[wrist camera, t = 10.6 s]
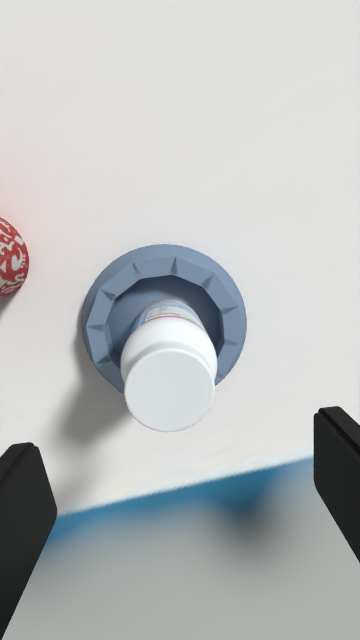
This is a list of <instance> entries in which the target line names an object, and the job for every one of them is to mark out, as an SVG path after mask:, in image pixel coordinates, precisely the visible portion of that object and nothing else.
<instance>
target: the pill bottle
mask: <svg viewBox="0 0 360 640" xmlns="http://www.w3.org/2000/svg"><path fill="white" fill-rule="evenodd" d="M216 373H217V357H216V352H215V349H214V346H213V344H212V342H211V340H210V338H209V336H208V334H207V332H206V330H205V328H204V327H203V325H202V323H201V321H200V319H199V317H198V315H197V314H196V313H195V311H194V310H193V309H192V308H191V307H189V306H188V305H187V304H185V303H183V302H181V301H179V300H175V299H161V300H157V301H155V302H153V303H151V304H149V305H148V306H146V307H145V308H144V309H143V310H142V311H141V313H140V314H139V316H138V318H137V320H136V322H135V324H134V326H133V328H132V330H131V333H130V335H129V337H128V339H127V341H126V343H125V346H124V348H123V352H122V356H121V375H122V378H123V381H124V384H125V385H124V397H125V401H126V405H127V407H128V409H129V411H130V412H131V414H132V415H133V417H134V418H135V419H136V420H137V421H139V422H140V423H141V424H143V425H144V426H146V427H148V428H150V429H153V430H157V431H162V432H175V431H180V430H184V429H186V428H189V427H191V426H193V425H195V424H196V423H197V422H199V421H200V420H201V419H202V418H203V417H204V416H205V415H206V413H207V412H208V411H209V409H210V407H211V405H212V403H213V399H214V394H215V383H214V380H215V377H216Z"/></svg>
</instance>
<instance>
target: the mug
mask: <svg viewBox="0 0 360 640" xmlns="http://www.w3.org/2000/svg"><path fill="white" fill-rule="evenodd" d="M28 268H29V256H28V252H27V248H26V246H25V243H24V241H23V239H22V237H21V236H20V235H19V233H18V232H17V231H16V229H15V228H14V227H13V226H11V225H10V224H9V223H8V222H7V221H5V220H4V219H2V218H0V298H1V297H4V296H6V295H9V294H11V293H13V292H14V291H15V290H17V289H18V288H19V287H20V286H21V284H22V283H23V282H24V280H25V278H26V276H27V273H28Z"/></svg>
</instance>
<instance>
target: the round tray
mask: <svg viewBox="0 0 360 640" xmlns="http://www.w3.org/2000/svg"><path fill="white" fill-rule="evenodd" d="M161 299H175V300H179V301H181V302H183V303H185V304H187V305H188V306H189V307H191V308H192V309H193V310H194V311H195V313H196V314H197V315H198V317H199V319H200V321H201V323H202V325H203V327H204V328H205V330H206V332H207V334H208V336H209V338H210V340H211V342H212V344H213V346H214V349H215V352H216V357H217V373H216V377H215V380H214V383H215V386H216V385H217V384H218V383H219V382H221V381H222V380H223V379H224V378H225V377H226V376H227V375H228V373H229V372H230V371H231V369H232V368H233V367H234V365H235V363H236V362H237V360H238V358H239V356H240V354H241V351H242V349H243V345H244V341H245V337H246V329H247V318H246V311H245V306H244V302H243V299H242V296H241V294H240V292H239V289H238V287H237V286H236V284H235V282H234V281H233V279H232V278H231V277H230V276H229V274H228V273H227V272H226V271H225V270H224V269H223V268H222V267H221V266H220V265H219V264H218V263H217V262H215V261H214V260H212V259H211V258H210V257H208V256H206V255H204V254H202V253H200V252H198V251H196V250H193V249H190V248H187V247H182V246H178V245H167V244H163V245H151V246H146V247H141V248H138V249H136V250H133V251H130V252H128V253H126V254H124V255H122V256H120V257H119V258H118V259H116V260H115V261H113V262H112V263H111V264H110V265H108V266H107V267H106V268H105V269H104V270H103V271H102V272H101V274H100V275H99V276H98V277H97V279H96V280H95V282H94V283H93V285H92V287H91V288H90V291H89V293H88V295H87V298H86V301H85V305H84V308H83V316H82V332H83V338H84V343H85V346H86V349H87V352H88V354H89V356H90V358H91V360H92V362H93V364H94V365H95V367H96V368H97V370H98V371H99V372H100V373H101V375H102V376H103V377H104V378H105V379H106V380H107V381H108V382H109V383H111V384H112V385H113V386H115V387H116V388H117V389H118V390H119V391H120V392H121V393H124V385H125V384H124V381H123V378H122V375H121V356H122V352H123V348H124V346H125V343H126V341H127V339H128V337H129V335H130V333H131V330H132V328H133V326H134V324H135V322H136V320H137V318H138V316H139V314H140V313H141V311H142V310H143V309H144V308H145V307H146V306H148V305H149V304H151V303H153V302H155V301H157V300H161Z"/></svg>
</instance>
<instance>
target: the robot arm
mask: <svg viewBox="0 0 360 640" xmlns="http://www.w3.org/2000/svg"><path fill="white" fill-rule="evenodd" d="M314 483H315V486H316V489H317V491H318V493H319V495H320V496H321V498H322V499H323V501H324V503H325V505H326V507H327V508H328V510H329V512H330V513H331V515H332V517H333V518H334V520H335V522H336V523H337V525H338V526H339V528H340V530H341V531H342V533H343V535H344V537H345V539H346V540H347V542H348V544H349V545H350V547H351V549H352V550H353V552H354V554H355V555H356V557H357V559H358V560H359V562H360V425H359V424H358V423H357V422H355V421H354V420H353V419H352V418H351V417H350V416H349V415H348V414H347V413H346V412H345V411H344V410H343V409H342V408H340V407H338V406H334V407H326V408H320V409H319V411H318V413H316V414H314ZM56 517H57V506H56V503H55V500H54V496H53V493H52V490H51V487H50V483H49V480H48V477H47V474H46V470H45V467H44V464H43V460H42V457H41V454H40V451H39V448H38V447H37V446H34V444H33V443H31V442H28V443H20V444H13V445H11V446H10V447H9V448H8V449H7V450H6V452H5V453H4V454H3V455H2V456H1V457H0V640H2V637H3V635H4V633H5V630H6V629H7V626H8V624H9V622H10V620H11V618H12V615H13V613H14V611H15V609H16V607H17V604H18V602H19V600H20V598H21V596H22V593H23V591H24V589H25V587H26V584H27V582H28V580H29V578H30V576H31V574H32V571H33V569H34V567H35V565H36V562H37V560H38V558H39V556H40V554H41V551H42V549H43V547H44V545H45V543H46V540H47V538H48V536H49V534H50V531H51V529H52V527H53V525H54V523H55V520H56Z"/></svg>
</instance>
